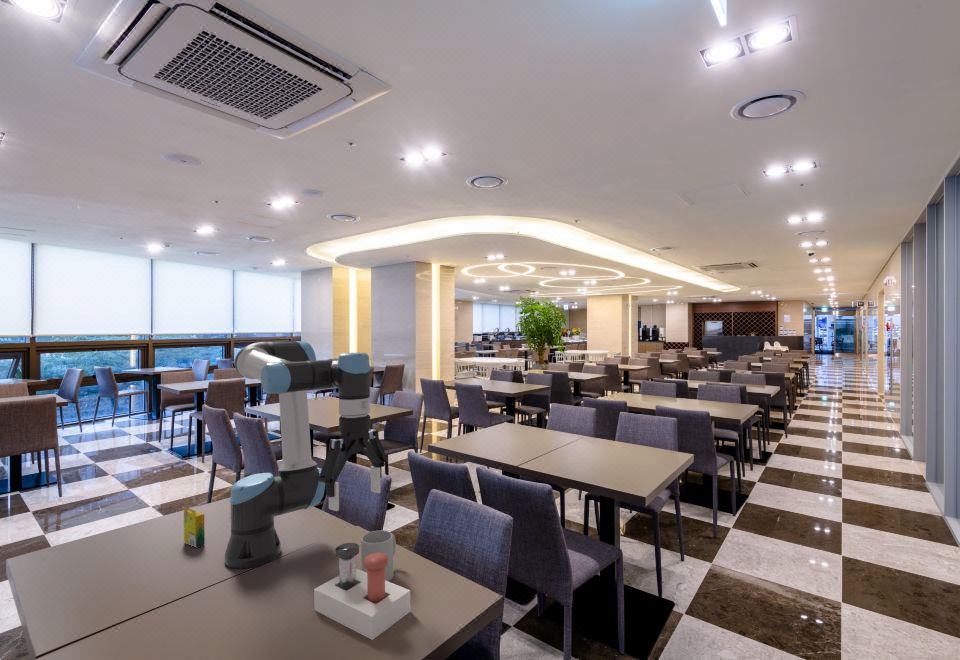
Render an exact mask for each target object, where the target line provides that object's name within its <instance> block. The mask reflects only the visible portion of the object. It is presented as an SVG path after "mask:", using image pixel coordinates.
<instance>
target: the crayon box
mask: <svg viewBox="0 0 960 660" xmlns="http://www.w3.org/2000/svg"><path fill="white" fill-rule="evenodd" d="M183 533H184V534H183V543H184V542H185V543H187V544H189V545H191V546H190V547H192V546H194V547H198V548H200V547H202V546H201V545H203V546H204V544H205V545H206V543H205V538H206V537H205V535H206V534H205V514H204V513H201V512H199V511H196V510H194V509H192V508H188V507H185V506H184V508H183ZM187 544H186V545H187ZM189 545H188V546H189ZM199 546H200V547H199ZM194 547H193V548H194Z"/></svg>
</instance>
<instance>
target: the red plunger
mask: <svg viewBox="0 0 960 660" xmlns="http://www.w3.org/2000/svg"><path fill="white" fill-rule="evenodd" d="M387 564H388V555H386V554H384V553H373V554H370V555H368V556H366V557H365V558H364V568H366V569H367V588H368V601H370V602H372V603H379V602H380V601H382V600H383V599H385V566H387Z"/></svg>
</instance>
